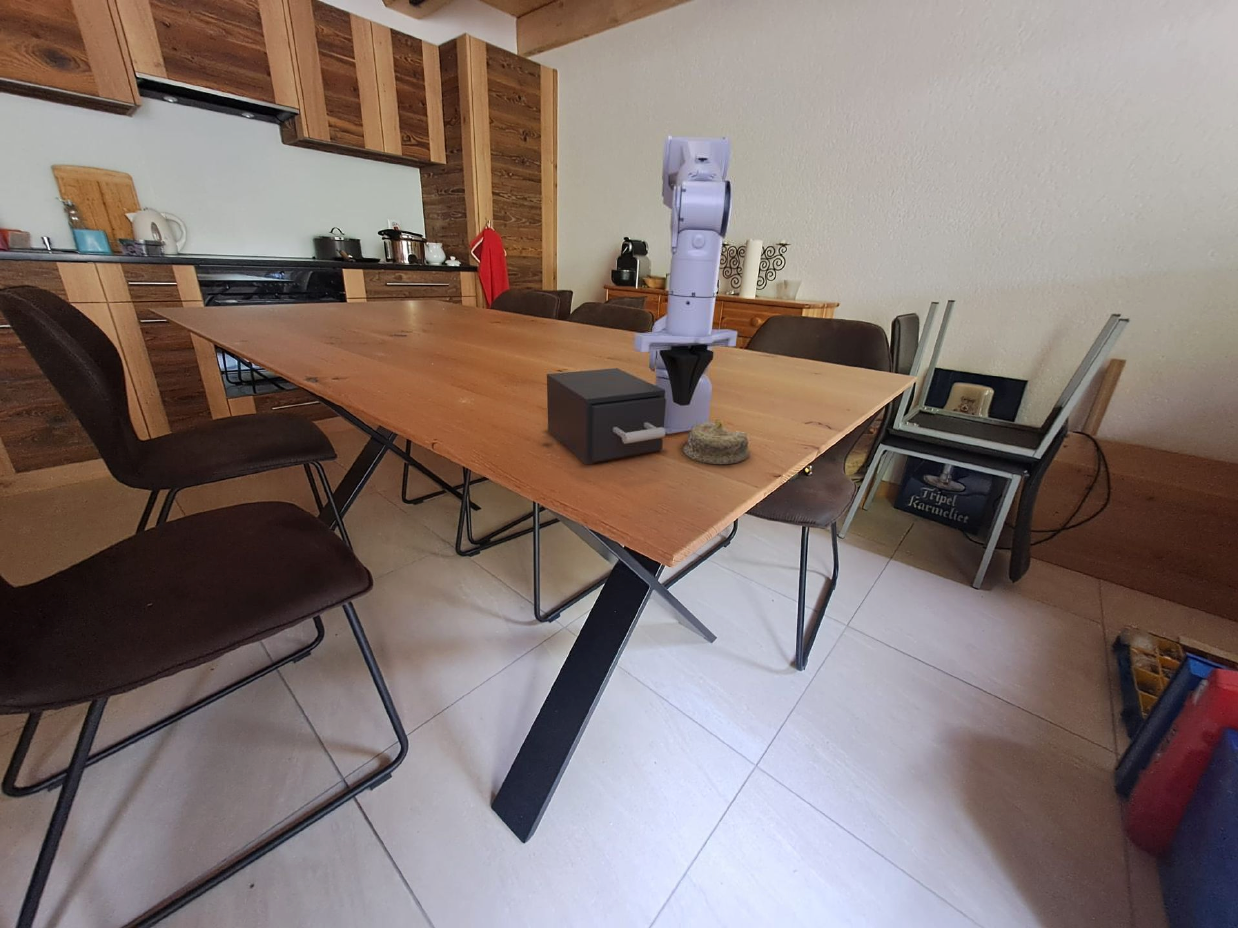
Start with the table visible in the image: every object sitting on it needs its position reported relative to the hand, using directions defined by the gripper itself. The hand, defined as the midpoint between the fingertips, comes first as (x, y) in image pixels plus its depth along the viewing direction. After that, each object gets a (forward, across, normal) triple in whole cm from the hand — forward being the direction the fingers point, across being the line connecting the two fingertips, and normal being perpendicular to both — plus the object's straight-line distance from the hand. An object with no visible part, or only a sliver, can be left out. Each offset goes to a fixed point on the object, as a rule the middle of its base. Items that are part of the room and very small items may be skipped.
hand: (681, 403), depth 63 cm
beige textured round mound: (+10, +9, +2) cm, 13 cm away
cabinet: (+9, -5, +13) cm, 17 cm away
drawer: (+9, -5, +9) cm, 13 cm away
